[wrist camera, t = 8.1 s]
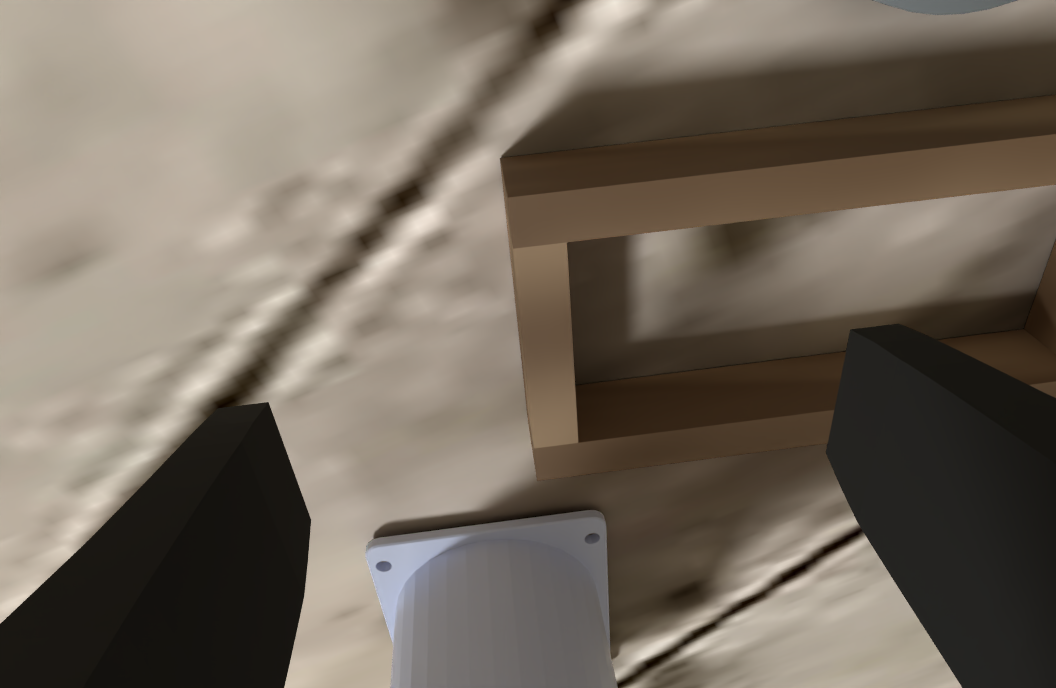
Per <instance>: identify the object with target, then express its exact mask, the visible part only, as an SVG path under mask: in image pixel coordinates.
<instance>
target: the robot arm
mask: <svg viewBox="0 0 1056 688" xmlns="http://www.w3.org/2000/svg"><path fill="white" fill-rule="evenodd" d="M826 454H827V456H828V459H829V461H830V463H831V466H832V468H833V470H834V472H835V475H836V477H837V479H838V482H839V484H840V486H841V488H842V491H843V493H844V495H845V497H846V499H847V501H848V503H849V505H850V507H851V509H852V512H853V514H854V516H855V518H856V520H857V522H858V524H859V525H860V527H861V528H862V530H863V532H864V533H865V535H866V537H867V538H868V540H869V542H870V543H871V545H872V546H873V548H874V550H875V551H876V553H877V554H878V556H879V558H880V559H881V561H882V562H883V564H884V565H885V567H886V569H887V570H888V572H889V573H890V575H891V577H892V578H893V580H894V581H895V583H896V584H897V586H898V588H899V589H900V591H901V592H902V594H903V595H904V597H905V599H906V600H907V602H908V603H909V605H910V606H911V608H912V609H913V611H914V613H915V614H916V616H917V617H918V619H919V620H920V622H921V624H922V625H923V627H924V628H925V630H926V631H927V633H928V634H929V636H930V638H931V639H932V641H933V642H934V644H935V645H936V647H937V649H938V650H939V652H940V653H941V655H942V656H943V658H944V659H945V661H946V663H947V664H948V666H949V667H950V669H951V670H952V672H953V674H954V675H955V677H956V678H957V680H958V681H959V683H960V684H961V686H962V688H1056V398H1055V397H1052V396H1050V395H1048V394H1046V393H1044V392H1042V391H1040V390H1038V389H1036V388H1034V387H1032V386H1030V385H1028V384H1026V383H1024V382H1022V381H1020V380H1018V379H1016V378H1014V377H1012V376H1010V375H1008V374H1006V373H1004V372H1002V371H1000V370H997V369H995V368H993V367H991V366H989V365H987V364H985V363H983V362H981V361H979V360H977V359H975V358H973V357H971V356H969V355H967V354H965V353H963V352H961V351H959V350H957V349H955V348H952V347H950V346H948V345H946V344H944V343H942V342H940V341H938V340H935V339H933V338H931V337H929V336H927V335H924V334H922V333H920V332H918V331H915V330H913V329H910V328H908V327H905V326H903V325H900V324H892V325H884V326H876V327H868V328H860V329H852V330H850V334H849V339H848V344H847V349H846V354H845V359H844V364H843V369H842V374H841V379H840V384H839V389H838V394H837V399H836V404H835V409H834V414H833V419H832V424H831V429H830V434H829V439H828V444H827V449H826ZM310 526H311V519H310V516H309V513H308V510H307V507H306V505H305V502H304V499H303V496H302V494H301V491H300V488H299V485H298V483H297V480H296V477H295V474H294V472H293V469H292V466H291V463H290V460H289V458H288V455H287V452H286V449H285V447H284V444H283V441H282V438H281V436H280V433H279V430H278V427H277V425H276V422H275V419H274V416H273V414H272V411H271V408H270V405H269V402H266V403H258V404H250V405H242V406H234V407H226V408H218V409H217V410H216V411H215V412H214V413H213V414H212V415H210V416H209V417H208V418H207V419H206V420H205V421H204V422H203V423H202V424H201V425H200V426H199V427H198V428H197V429H196V430H195V431H194V432H193V433H192V434H191V435H190V436H189V437H188V438H187V439H186V441H185V442H184V443H183V444H182V445H181V446H180V447H179V448H178V449H177V450H176V451H175V452H174V453H173V454H172V455H171V456H170V457H169V458H168V459H167V460H166V461H165V462H164V463H163V465H162V466H161V467H160V468H159V469H158V470H157V471H156V472H155V473H154V474H153V475H152V476H151V477H150V478H149V479H148V480H147V481H146V482H145V483H144V484H143V485H142V486H141V487H140V488H139V489H138V490H137V492H136V493H135V494H134V495H133V496H132V497H131V498H130V499H129V500H128V501H127V502H126V503H125V504H124V505H123V506H122V507H121V508H120V509H119V510H118V511H117V512H116V513H115V514H114V515H113V516H112V517H111V518H110V519H109V520H108V521H107V522H106V523H105V524H104V525H103V526H102V527H101V528H100V529H99V530H98V531H97V532H96V533H95V534H94V535H93V536H92V537H91V538H90V539H89V540H88V541H87V542H86V543H85V544H84V545H83V546H82V547H81V548H80V549H79V550H78V551H77V552H76V553H75V554H74V555H73V556H72V557H71V558H70V559H68V560H67V561H66V562H65V563H64V564H63V565H62V566H61V567H60V568H59V569H58V570H57V571H56V572H55V573H54V574H53V575H52V576H50V577H49V578H48V579H47V580H46V581H45V582H44V583H43V584H42V585H41V586H40V587H39V588H38V589H37V590H36V591H35V592H34V593H33V594H31V595H30V596H29V597H28V598H27V599H26V600H25V601H24V602H23V603H22V604H21V605H20V606H19V607H18V608H17V609H16V610H15V611H14V612H12V613H11V614H10V615H9V616H8V617H7V618H6V619H5V620H4V621H3V622H2V623H1V624H0V688H284V686H285V681H286V677H287V672H288V668H289V664H290V659H291V655H292V650H293V645H294V641H295V636H296V632H297V627H298V623H299V618H300V613H301V608H302V604H303V599H304V592H305V582H306V573H307V563H308V551H309V539H310ZM591 533H595V534H592V535H588V534H591ZM366 560H367V563H368V566H369V569H370V573H371V576H372V579H373V582H374V585H375V588H376V592H377V595H378V598H379V601H380V604H381V608H382V611H383V614H384V617H385V620H386V624H387V627H388V630H389V633H390V636H391V639H392V643H393V657H392V672H391V687H390V688H618V687H617V683H616V678H615V673H614V669H613V664H612V659H611V654H610V627H609V595H608V564H607V532H606V522H605V518H604V515H603V514H602V513H601V512H599V511H596V510H586V511H578V512H571V513H563V514H555V515H548V516H540V517H533V518H525V519H518V520H510V521H502V522H495V523H487V524H480V525H472V526H464V527H457V528H449V529H442V530H434V531H426V532H419V533H411V534H404V535H396V536H389V537H381V538H376V539H373V540H371V541H370V542H369V543H368V544H367V546H366ZM381 561H387V562H381Z"/></svg>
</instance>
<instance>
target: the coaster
mask: <svg viewBox="0 0 1056 688" xmlns="http://www.w3.org/2000/svg"><path fill="white" fill-rule="evenodd" d="M873 1H876V2H879V3H882V4H886V5H889V6H892V7H896V8H899V9H903V10H906V11H909V12H916V13H924V14H933V15H948V14H965V13H970V12H976V11H982V10H987V9H991V8H994V7H998V6H1001V5H1004V4H1007V3H1010V2H1014V1H1017V0H873Z"/></svg>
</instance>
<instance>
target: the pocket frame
mask: <svg viewBox="0 0 1056 688" xmlns="http://www.w3.org/2000/svg"><path fill="white" fill-rule="evenodd" d="M500 163H501V172H502V182H503V191H504V200H505V210H506V219H507V228H508V238H509V247H510V256H511V266H512V275H513V284H514V294H515V303H516V312H517V322H518V331H519V341H520V350H521V359H522V369H523V378H524V387H525V397H526V406H527V415H528V424H529V431H530V437H531V444H532V450H533V457H534V464H535V470H536V477H537V481H541V480H549V479H557V478H564V477H572V476H580V475H587V474H595V473H603V472H610V471H618V470H626V469H633V468H641V467H649V466H657V465H664V464H672V463H680V462H687V461H695V460H703V459H710V458H718V457H726V456H733V455H741V454H749V453H756V452H764V451H772V450H780V449H787V448H795V447H803V446H810V445H818V444H826V443H828V439H829V434H830V429H831V424H832V419H833V414H834V409H835V404H836V399H837V394H838V389H839V384H840V379H841V374H842V369H843V364H844V359H845V354H846V351H845V352H837V353H829V354H821V355H813V356H806V357H798V358H790V359H782V360H774V361H766V362H758V363H750V364H742V365H734V366H726V367H718V368H710V369H702V370H694V371H686V372H678V373H670V374H662V375H654V376H646V377H638V378H630V379H622V380H614V381H606V382H598V383H591V384H583V385H575V375H574V358H573V340H572V323H571V306H570V288H569V271H568V253H567V242H575V241H583V240H592V239H600V238H608V237H617V236H625V235H634V234H642V233H651V232H659V231H668V230H676V229H684V228H693V227H701V226H710V225H718V224H727V223H735V222H743V221H752V220H760V219H769V218H777V217H786V216H794V215H803V214H811V213H819V212H828V211H836V210H845V209H853V208H862V207H870V206H879V205H887V204H895V203H904V202H912V201H921V200H929V199H938V198H946V197H954V196H963V195H971V194H980V193H988V192H997V191H1005V190H1014V189H1022V188H1030V187H1039V186H1047V185H1056V95H1049V96H1040V97H1031V98H1022V99H1013V100H1005V101H996V102H987V103H978V104H970V105H961V106H952V107H943V108H934V109H926V110H917V111H908V112H899V113H891V114H882V115H873V116H864V117H855V118H847V119H838V120H829V121H820V122H812V123H803V124H794V125H785V126H777V127H768V128H759V129H750V130H741V131H733V132H724V133H715V134H706V135H698V136H689V137H680V138H671V139H662V140H654V141H645V142H636V143H627V144H619V145H610V146H601V147H592V148H583V149H575V150H566V151H557V152H548V153H540V154H531V155H522V156H513V157H504V158H500ZM938 341H940V342H942V343H944V344H946V345H948V346H950V347H952V348H955V349H957V350H959V351H961V352H963V353H965V354H967V355H969V356H971V357H973V358H975V359H977V360H979V361H981V362H983V363H985V364H987V365H989V366H991V367H993V368H995V369H997V370H1000V371H1002V372H1004V373H1006V374H1008V375H1010V376H1012V377H1014V378H1016V379H1018V380H1020V381H1022V382H1024V383H1026V384H1028V385H1030V386H1032V387H1034V388H1036V389H1038V390H1040V391H1042V392H1044V393H1046V394H1048V395H1050V396H1052V397H1055V398H1056V241H1055V244H1054V247H1053V249H1052V252H1051V255H1050V258H1049V261H1048V263H1047V266H1046V269H1045V272H1044V274H1043V277H1042V280H1041V283H1040V286H1039V288H1038V291H1037V294H1036V297H1035V300H1034V302H1033V305H1032V308H1031V311H1030V313H1029V316H1028V319H1027V322H1026V325H1025V327H1024V329H1020V330H1013V331H1005V332H997V333H989V334H981V335H973V336H965V337H957V338H949V339H941V340H938Z"/></svg>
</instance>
